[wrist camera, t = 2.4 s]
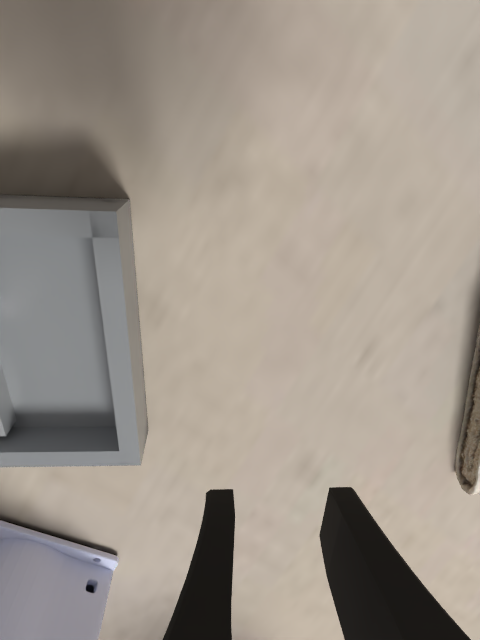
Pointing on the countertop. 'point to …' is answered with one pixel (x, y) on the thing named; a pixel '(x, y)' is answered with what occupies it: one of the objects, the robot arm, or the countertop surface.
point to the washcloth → (470, 432)
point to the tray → (69, 334)
